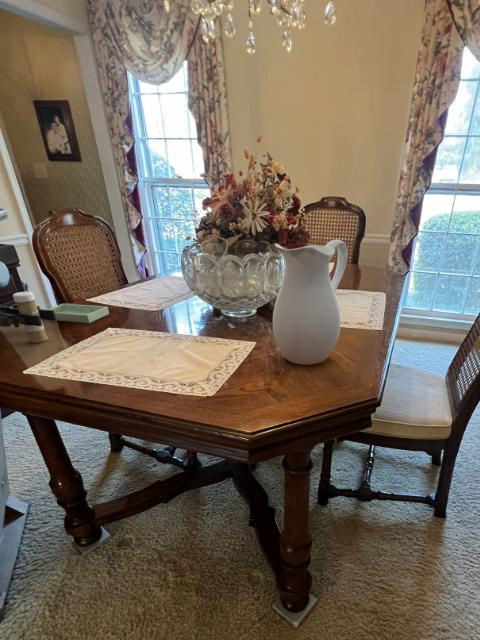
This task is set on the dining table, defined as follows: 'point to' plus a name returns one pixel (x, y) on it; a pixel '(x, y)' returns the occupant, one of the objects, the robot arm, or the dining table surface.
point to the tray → (79, 312)
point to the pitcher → (309, 303)
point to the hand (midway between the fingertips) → (47, 318)
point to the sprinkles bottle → (29, 308)
